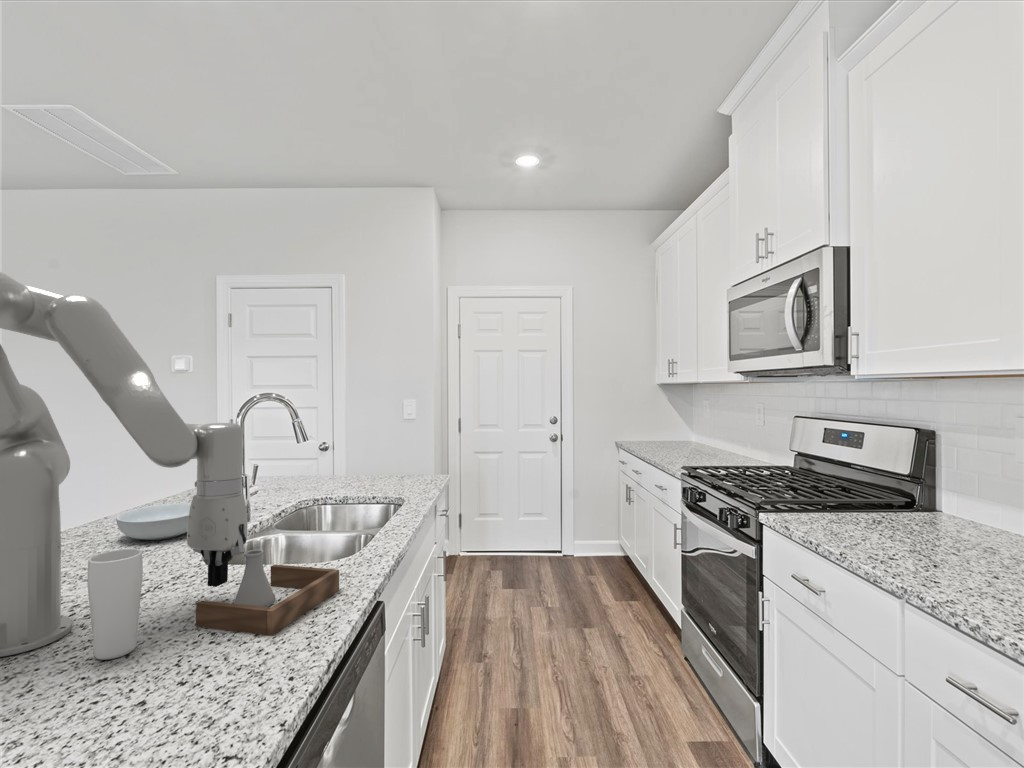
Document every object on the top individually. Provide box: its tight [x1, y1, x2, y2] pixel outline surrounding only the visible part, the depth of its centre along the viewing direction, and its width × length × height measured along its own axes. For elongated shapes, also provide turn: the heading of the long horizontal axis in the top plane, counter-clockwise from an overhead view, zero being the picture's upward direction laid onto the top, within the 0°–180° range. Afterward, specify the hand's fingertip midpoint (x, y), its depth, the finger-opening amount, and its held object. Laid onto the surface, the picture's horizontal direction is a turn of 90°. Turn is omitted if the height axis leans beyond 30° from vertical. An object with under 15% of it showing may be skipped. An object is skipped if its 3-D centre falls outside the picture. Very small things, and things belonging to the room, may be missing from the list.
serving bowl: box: [115, 502, 191, 541], centre depth 145 cm, size 21×21×7 cm
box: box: [195, 564, 340, 636], centre depth 97 cm, size 20×15×4 cm
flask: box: [232, 549, 276, 607], centre depth 98 cm, size 7×7×10 cm
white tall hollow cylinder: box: [86, 548, 144, 661], centre depth 80 cm, size 7×7×15 cm
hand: (217, 583), depth 99 cm, fingers closed
